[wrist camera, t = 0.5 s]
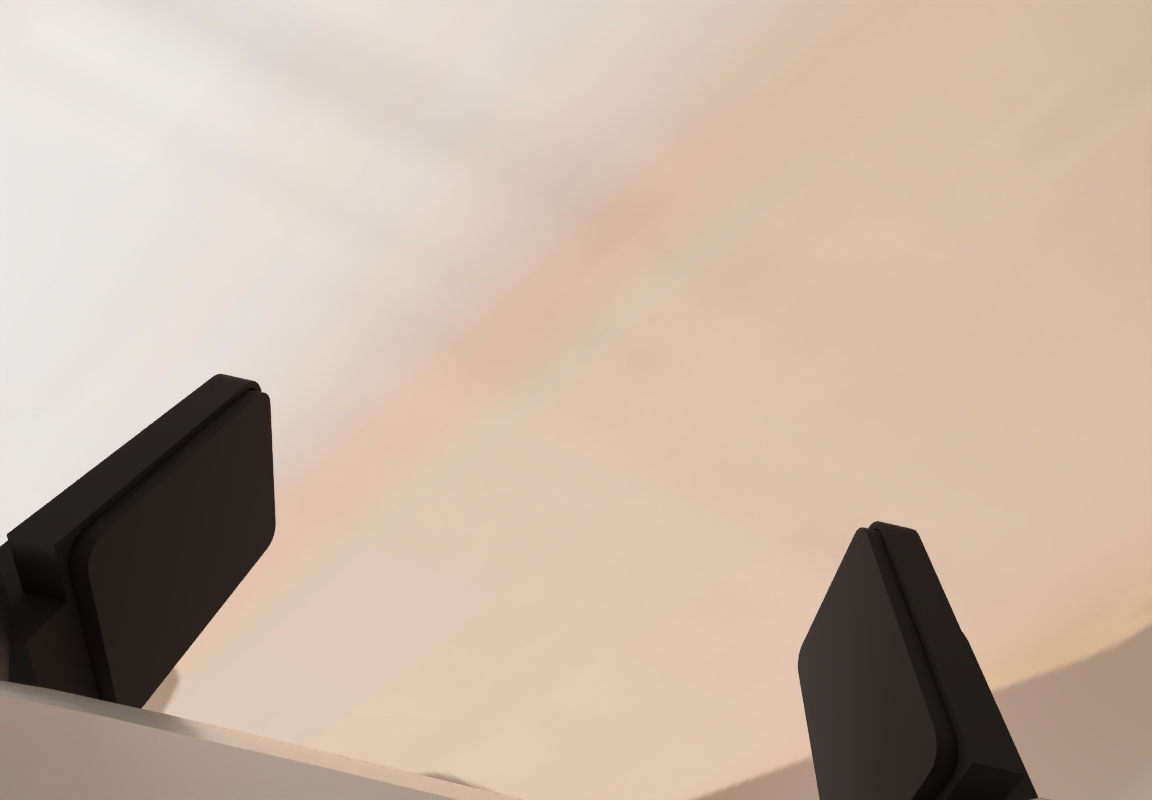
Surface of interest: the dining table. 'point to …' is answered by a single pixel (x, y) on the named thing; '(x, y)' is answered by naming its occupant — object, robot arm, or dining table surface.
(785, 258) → the dining table surface
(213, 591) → the robot arm
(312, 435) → the dining table surface
